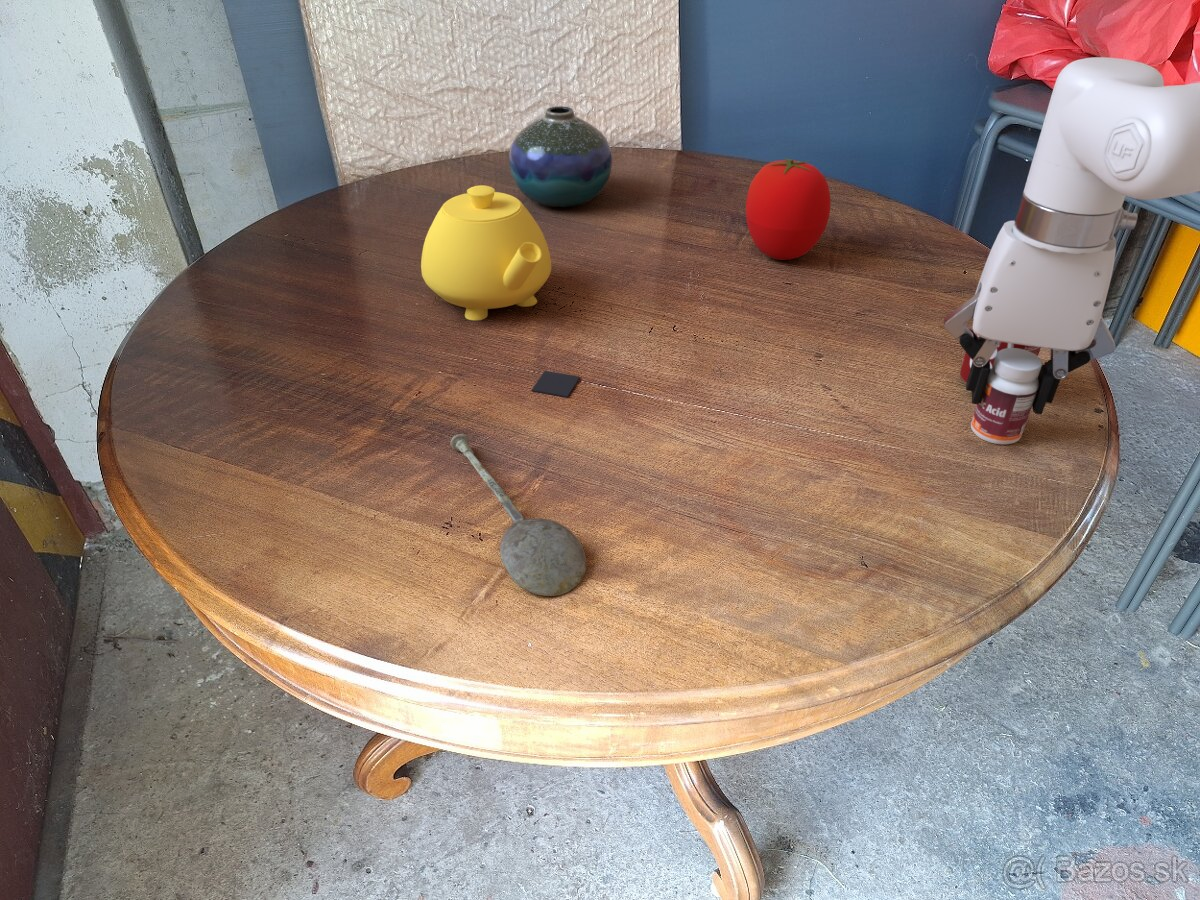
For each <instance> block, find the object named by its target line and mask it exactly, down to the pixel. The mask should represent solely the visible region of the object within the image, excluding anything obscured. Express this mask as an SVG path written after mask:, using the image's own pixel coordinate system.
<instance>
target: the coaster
mask: <svg viewBox="0 0 1200 900" xmlns="http://www.w3.org/2000/svg"><path fill="white" fill-rule="evenodd" d="M580 379H581V376H578V375H572V374H566V373H561V372H555V371H548V370H544V371H543V373H542V374H541V375H540V377H539V379H537V381H536V383H535V384H534V386H533V387H532V389H531V392H532V393H533V392H534V393H539V394H545V395H550V396H556V397H562V398H569V397H570V395H571V393H572V392H573V390H574V388H575V387H576V385H577V384H578V382H579V380H580Z"/></svg>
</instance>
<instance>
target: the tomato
mask: <svg viewBox="0 0 1200 900" xmlns="http://www.w3.org/2000/svg"><path fill="white" fill-rule="evenodd" d="M782 159H784V160H773V161H771V162H769V163H767V164H766V165H764V166H763V167H761V168H760V170H759V171H758V172H757V173H756V175H755V176H754V177H753V178H752V181H751V183H750V184H749V188H748V191H747V195H746V200H745V216H746V224H747V228H748V232H749V235H750V237H751V240H752V242H753V244H754V245H755V246H756V248H757V249H758V250H759V252H761V253H762V254H764V255H765V256H767V257H769V258H772V259H774V260H779V261H780V260H781V261H787V260H788V261H789V260H794V259H797V258H800V257H802V256H804V255H806V254H807V253H808V252H809V251H811V250H812V249H813V248H814V247H815V245H816V244H817V243H818V242H819V241H820V239H821V237H822V235H823V234H824V232H825V230H826V228H827V226H828V223H829V219H830V213H831V201H832V200H831V192H830V187H829V184H828V182H827V180H826V177H825V175H823V173H822V172H821V171H820V170H819V168H817V167H816V166H814V165H812V164H810V162H811V160H805V161H799V160H794V159H793V158H791V159H788V158H787V157H784V156H783V157H782Z"/></svg>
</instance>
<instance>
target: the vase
mask: <svg viewBox="0 0 1200 900" xmlns="http://www.w3.org/2000/svg"><path fill="white" fill-rule="evenodd" d="M508 166H509V171H510V173H511V176H512V180H513V181H514V183H515V185H516V187H517V188H518V189H519V190H520V192H521V193H522V194H523V195H524V196H525V197H526V198H527V199H530V200H531V201H532V202H534V203H537V204H539V205H542V206H546V207H551V208H570V207H571V208H572V207H575V206H579V205H583V204H586V203H587V202H589V201H591V200H594V199H595V198H596V197H597V196H598V195H599V194H600V193H602V191H603V190H604V188H605V186H606V185H607V183H608V181H609V179H610V176H611V171H612V167H613V152H612V149H611V146H610V143H609V141H608V139H607V138H606V136H605V135H604V134H603V132H601V130H600V129H598V128H597V127H595V126H594V125H593V124H591V123H589V122H587V121H586V120H584V119H582V118H580V117H578V116H576V115H575V111H574V109H573V108H572V107H569V106H561V105H559V106H557V105H556V106H551V107H548V108H546V110H545V114H544V115H543V116H542V117H540V118H538V119H537V120H534V121H533V122H531V123H529V124H528V125H527V126H526V127H524V128H523V129H522V130H521V131H520V132H518V134H516V137H515V138H514V139H513V141H512V143H511V146H510V149H509V154H508Z"/></svg>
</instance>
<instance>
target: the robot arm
mask: <svg viewBox="0 0 1200 900" xmlns="http://www.w3.org/2000/svg"><path fill="white" fill-rule="evenodd" d="M1164 84H1165V82H1164V78H1163V75H1162V74H1161V72H1160V71H1159V70H1158V69H1157V68H1155V67H1153V66H1151V65H1149V64H1146V63H1143V62H1140V61H1136V60H1132V59H1125V58H1117V57H1107V56H1106V57H1105V56H1104V57H1103V56H1101V57H1099V56H1095V57H1086V58H1080V59H1077V60H1073V61H1071V62H1070V63H1068V64H1067V65H1065V67H1063V68H1062V69H1061V71H1060V72H1059V73H1058V76H1057V78H1056V80H1055V83H1054V86H1053V89H1052V93H1051V96H1050V100H1049V103H1048V106H1047V109H1046V113H1045V117H1044V120H1043V124H1042V127H1041V131H1040V134H1039V138H1038V141H1037V143H1036V144H1037V145H1036V148H1035V151H1034V154H1033V157H1032V161H1031V165H1030V167H1029V171H1028V175H1027V179H1026V180H1025V181H1026V182H1025V185H1024V189H1023V192H1022V195H1021V198H1020V201H1019V205H1018V208H1017V213H1016V216H1015V219H1014V220H1008V221H1006V222H1004V223H1003V225H1002V226H1001V228H1000V230H999V232H998V234H997V236H996V238H995V240H994V242H993V245H992V246H991V249H990V252H989V253H988V256H987V259H986V261H985V263H984V267H983V269H982V272H981V275H980V278H979V280H978V284H977V286H976V290H975V293H974V295H973V296H972V297H970V298H969V299H967V300H966V301H965V302H963V303H962V304H960V305H959V306H958V307H957V308H955V309H954V310H952V311H951V312H950V313H949V314H947V315H946V316H945V317H944V318H943V328H944V330H945V331H946V332H947V333H948V334H949V335H951V336H952V338H953V339H954V340H956V341H957V342H958V343H959V345H960V346H961V347H962V350H964V351H965V353H967V354H968V355H969V356H970V358H971V359H972V360H973V362H972V365H971V368H970V372H969V375H968V379H967V383H966V384H965V390H966V391H969V392H970V391H971V405H972V404H973V405H977V404H978V403H981V400H982V397H983V393H984V390H985V387H986V384H987V380H988V377H989V374H990V357H991V356H992V354H993V353H994V351H995V350H996V349H997V347H998V346H999V344H1000V343H1001V342H1006V343H1013V344H1020V345H1027V346H1034V347H1041V348H1042V349H1049V350H1050V358H1049V359H1048V360H1047V361H1044V363H1042V366H1041V369H1040V373H1039V375H1038V377H1037V378H1038V380H1039V389H1038V391H1037V394H1036V397H1035V400H1034V402H1033V405H1032V412H1033V413H1034V414H1035V415H1043V412H1044V409H1045V406H1046V404H1052V403H1053V401H1054V398H1055V395H1056V393H1057V390H1058V387H1059V385H1060V382H1061V380H1063V379H1065V378H1067V377H1068V374H1069V373H1071V372H1073V371H1075V370H1077V369H1079V368H1081V367H1083V366H1085V365H1087V364H1089V363H1090V361H1092V360H1097V359H1099V358H1102V357H1105V356H1107V355H1109V354H1112V353H1114V352H1115V351H1116V349H1117V347H1116V343H1115V340H1114V338H1113V335H1112V334H1111V331H1110V330H1109V327H1108V325H1107V324H1106V322H1105V320H1104V318H1103V311H1104V308H1105V305H1106V300H1107V296H1108V292H1109V288H1110V285H1111V281H1112V276H1113V270H1114V265H1115V260H1116V258H1115V257H1116V252H1117V238H1116V236H1115V234H1117V233H1118V232H1119V231H1123V230H1128V231H1129V230H1130V231H1132V230H1134V229H1135V228H1136V225H1137V222H1138V217H1139V216H1138V213H1136V212H1129V211H1128V210H1125V209H1124V206H1123V204H1124V203H1125V199H1126V198H1127V197H1128V198H1132V199H1135V200H1141V201H1152V200H1161V199H1167V198H1171V197H1178V196H1184V195H1185V196H1186V195H1189V194H1194V193H1199V192H1200V82H1193V83H1187V84H1177V85H1166V86H1165V85H1164ZM972 319H973V321H972V328H973V331H972V329H971V328H968V326H967V325H966V323H968V322H969V321H971V320H972ZM975 334H976V335H978V336H979V337H977V336H976V335H975Z"/></svg>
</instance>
